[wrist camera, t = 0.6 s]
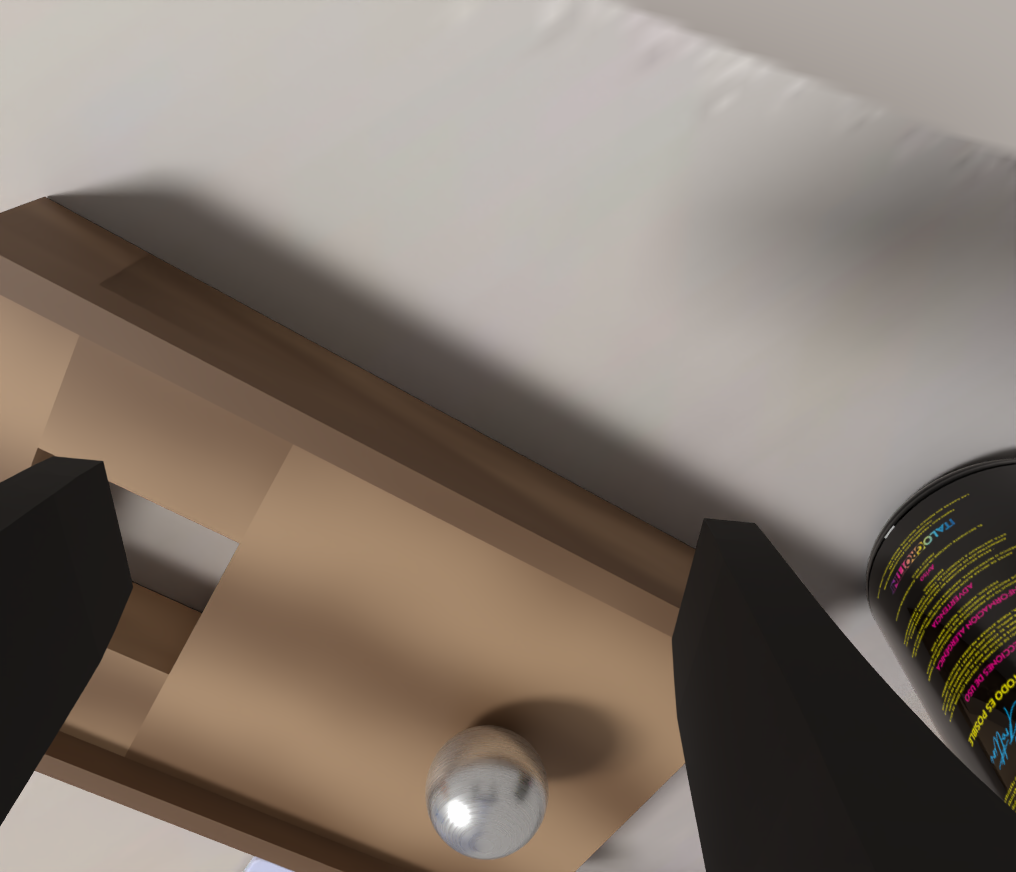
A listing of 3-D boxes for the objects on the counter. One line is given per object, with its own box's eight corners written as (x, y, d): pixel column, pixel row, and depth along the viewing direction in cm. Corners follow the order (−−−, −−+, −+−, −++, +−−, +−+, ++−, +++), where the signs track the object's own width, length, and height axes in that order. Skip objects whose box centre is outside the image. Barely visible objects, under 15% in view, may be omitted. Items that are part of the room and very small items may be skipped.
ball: (510, 796, 24) (506, 903, 21) (412, 753, 23) (394, 858, 20) (570, 729, 22) (575, 833, 19) (468, 681, 22) (458, 782, 19)
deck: (515, 860, 29) (513, 956, 26) (-88, 608, 24) (-174, 689, 21) (772, 591, 23) (806, 674, 20) (44, 196, 19) (-48, 230, 16)
